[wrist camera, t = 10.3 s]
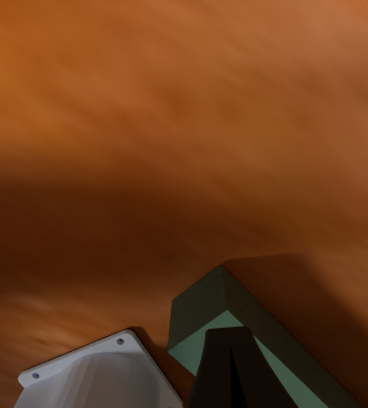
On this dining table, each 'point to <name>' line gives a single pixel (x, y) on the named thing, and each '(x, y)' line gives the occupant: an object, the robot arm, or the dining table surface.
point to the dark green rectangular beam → (263, 333)
